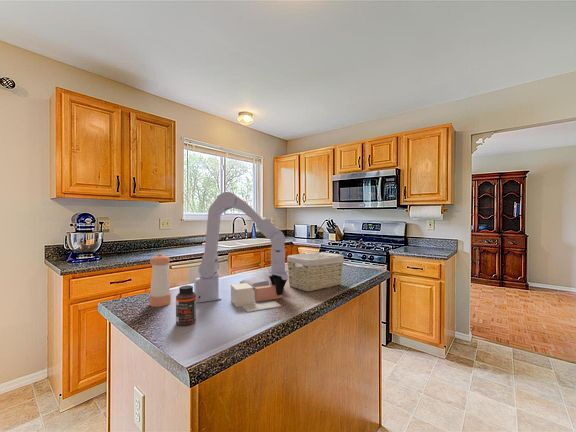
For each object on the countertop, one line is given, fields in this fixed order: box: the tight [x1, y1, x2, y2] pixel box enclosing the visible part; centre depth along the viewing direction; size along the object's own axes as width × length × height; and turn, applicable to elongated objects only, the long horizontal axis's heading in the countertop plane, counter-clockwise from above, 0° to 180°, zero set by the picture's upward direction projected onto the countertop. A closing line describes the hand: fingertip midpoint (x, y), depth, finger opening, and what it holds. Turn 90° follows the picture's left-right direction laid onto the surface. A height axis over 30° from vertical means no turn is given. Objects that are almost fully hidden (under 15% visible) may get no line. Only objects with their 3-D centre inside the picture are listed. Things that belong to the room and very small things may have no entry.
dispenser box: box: [230, 283, 256, 308], centre depth 106 cm, size 7×8×6 cm
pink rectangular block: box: [254, 284, 283, 302], centre depth 110 cm, size 11×2×5 cm, turn 116°
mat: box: [241, 300, 282, 313], centre depth 101 cm, size 13×6×1 cm, turn 116°
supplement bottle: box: [175, 284, 197, 327], centre depth 86 cm, size 6×6×11 cm
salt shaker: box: [149, 253, 172, 308], centre depth 105 cm, size 7×7×19 cm
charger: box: [239, 277, 270, 287], centre depth 125 cm, size 5×9×15 cm
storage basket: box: [286, 251, 345, 292], centre depth 130 cm, size 24×16×15 cm
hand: (278, 293), depth 112 cm, fingers closed on pink rectangular block, 2 cm apart
